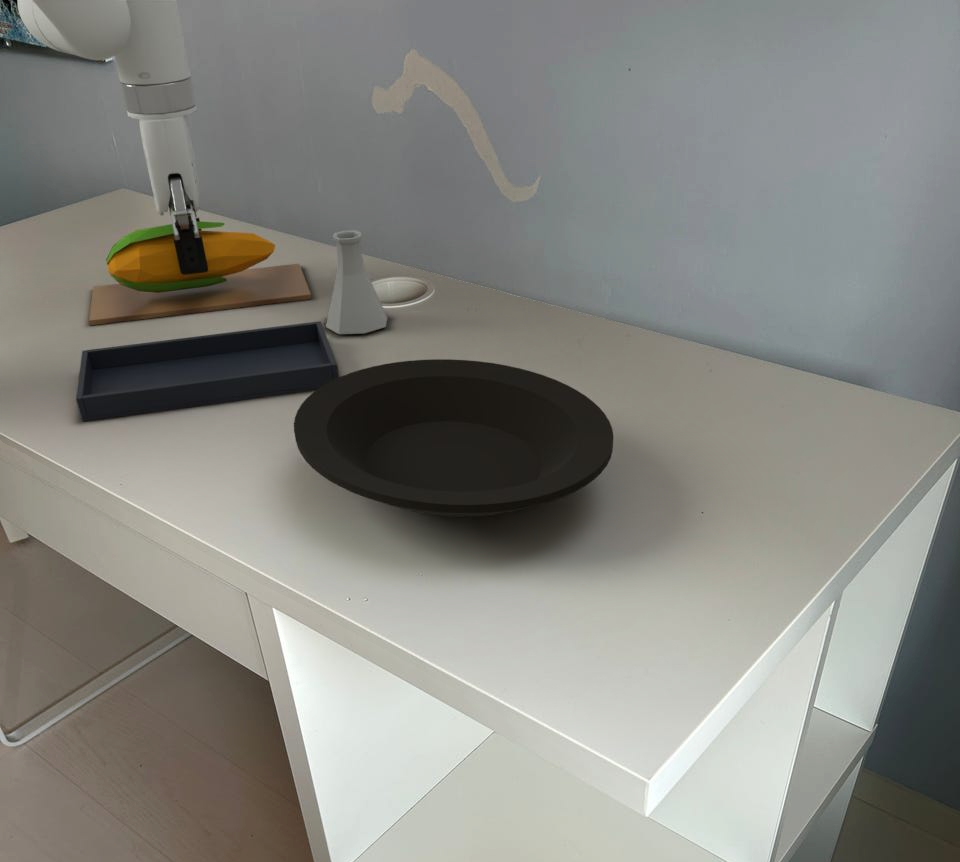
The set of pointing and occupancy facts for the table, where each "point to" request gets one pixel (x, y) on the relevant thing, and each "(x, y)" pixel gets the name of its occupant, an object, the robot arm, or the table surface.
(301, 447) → the plate
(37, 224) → the table surface
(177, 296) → the board
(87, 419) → the tray
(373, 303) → the flask
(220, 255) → the corn
